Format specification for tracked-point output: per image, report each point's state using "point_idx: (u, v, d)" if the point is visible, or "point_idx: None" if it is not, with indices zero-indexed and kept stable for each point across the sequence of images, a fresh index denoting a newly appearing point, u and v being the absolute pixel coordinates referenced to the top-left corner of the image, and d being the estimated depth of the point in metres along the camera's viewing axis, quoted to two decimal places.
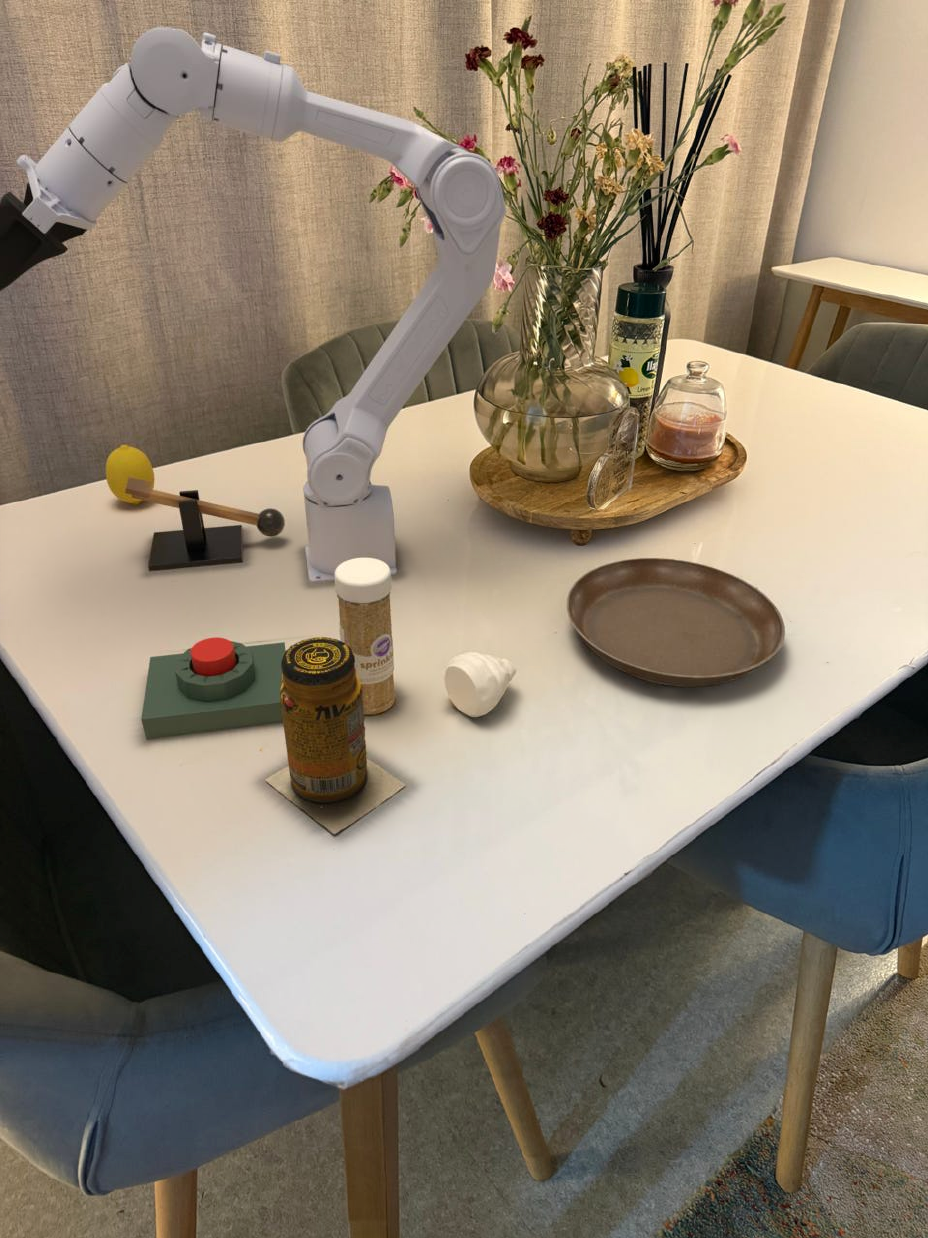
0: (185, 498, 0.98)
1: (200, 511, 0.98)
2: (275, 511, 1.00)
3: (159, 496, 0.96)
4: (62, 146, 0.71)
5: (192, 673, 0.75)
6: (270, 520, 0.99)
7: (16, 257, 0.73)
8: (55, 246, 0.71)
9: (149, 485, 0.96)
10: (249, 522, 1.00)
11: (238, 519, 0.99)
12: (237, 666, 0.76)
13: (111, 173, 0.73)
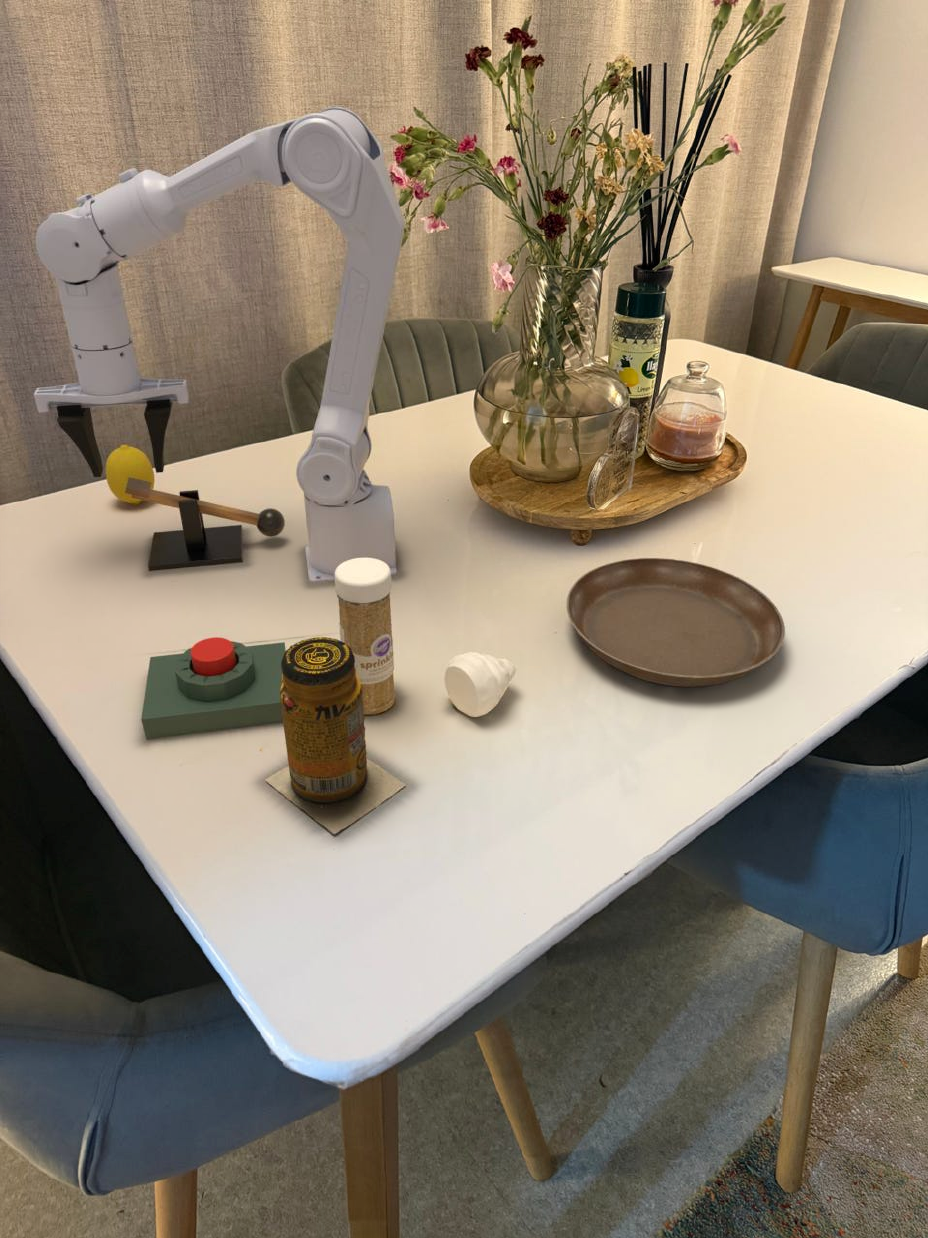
0: (185, 498, 0.98)
1: (200, 511, 0.98)
2: (275, 511, 1.00)
3: (159, 496, 0.96)
4: None
5: (192, 673, 0.75)
6: (270, 520, 0.99)
7: None
8: (57, 419, 0.88)
9: (149, 485, 0.96)
10: (249, 522, 1.00)
11: (238, 519, 0.99)
12: (237, 666, 0.76)
13: (75, 348, 0.85)
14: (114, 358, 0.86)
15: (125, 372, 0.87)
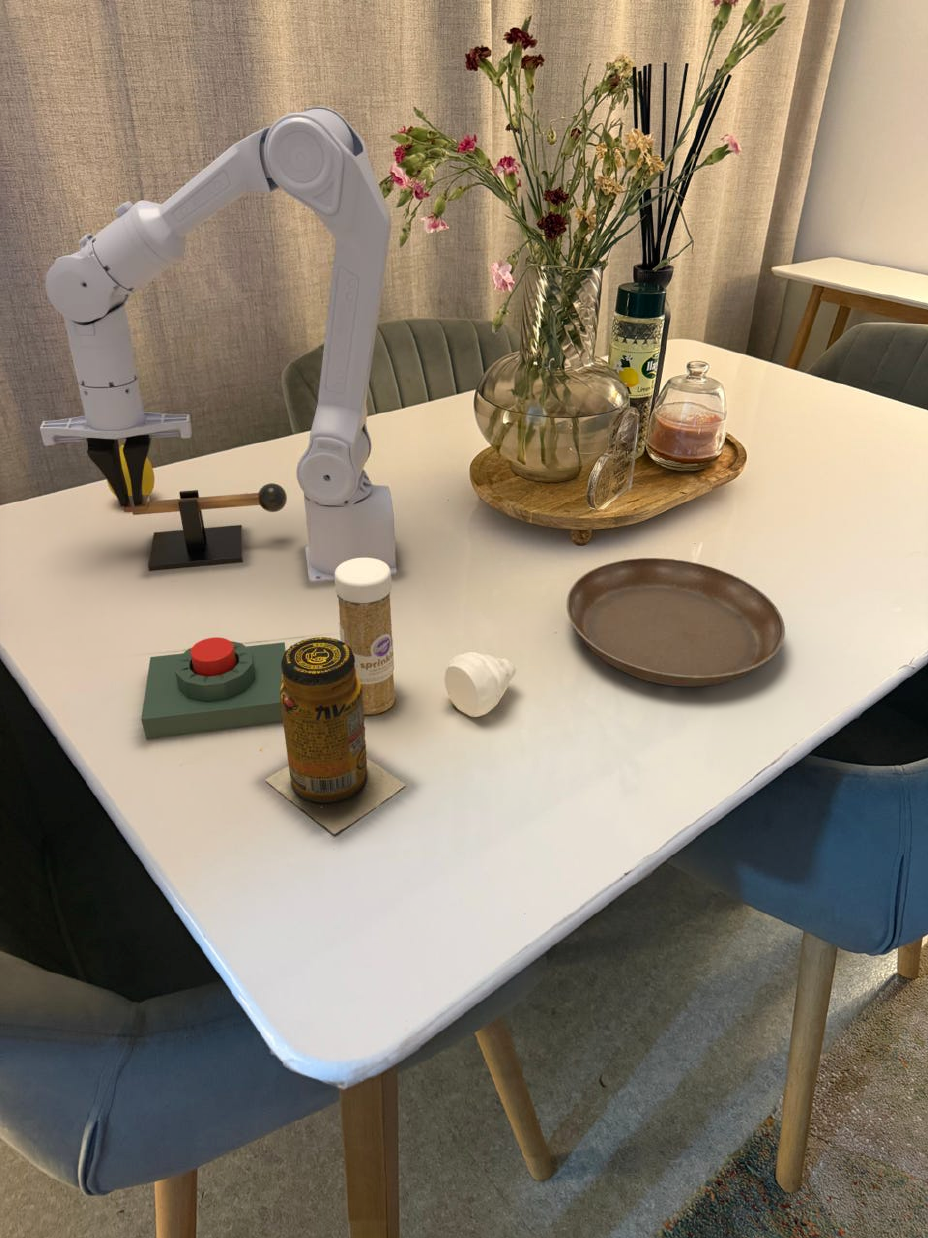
0: (183, 499, 0.98)
1: (201, 508, 0.98)
2: (272, 485, 0.99)
3: (158, 505, 0.97)
4: None
5: (192, 673, 0.75)
6: (269, 495, 0.98)
7: None
8: (87, 451, 0.90)
9: (146, 498, 0.97)
10: (251, 504, 0.99)
11: (240, 504, 0.98)
12: (237, 666, 0.76)
13: (81, 384, 0.87)
14: (120, 395, 0.88)
15: (130, 408, 0.89)
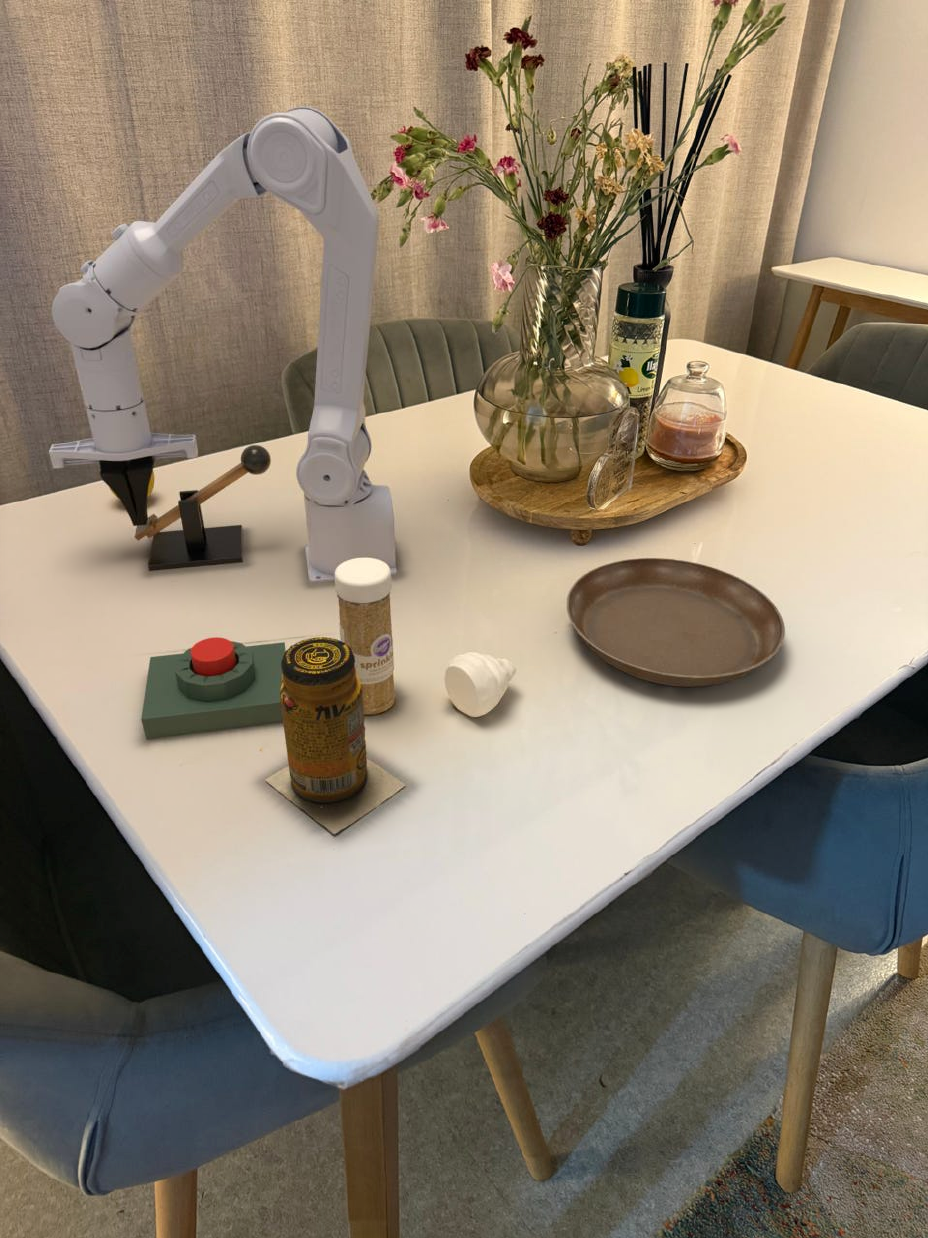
0: None
1: (200, 502, 0.97)
2: (248, 448, 0.96)
3: (163, 519, 0.98)
4: None
5: (192, 673, 0.75)
6: (248, 459, 0.95)
7: None
8: (100, 473, 0.92)
9: (152, 517, 0.98)
10: (240, 475, 0.97)
11: (230, 481, 0.97)
12: (237, 666, 0.76)
13: (89, 408, 0.89)
14: (126, 417, 0.89)
15: (137, 430, 0.90)
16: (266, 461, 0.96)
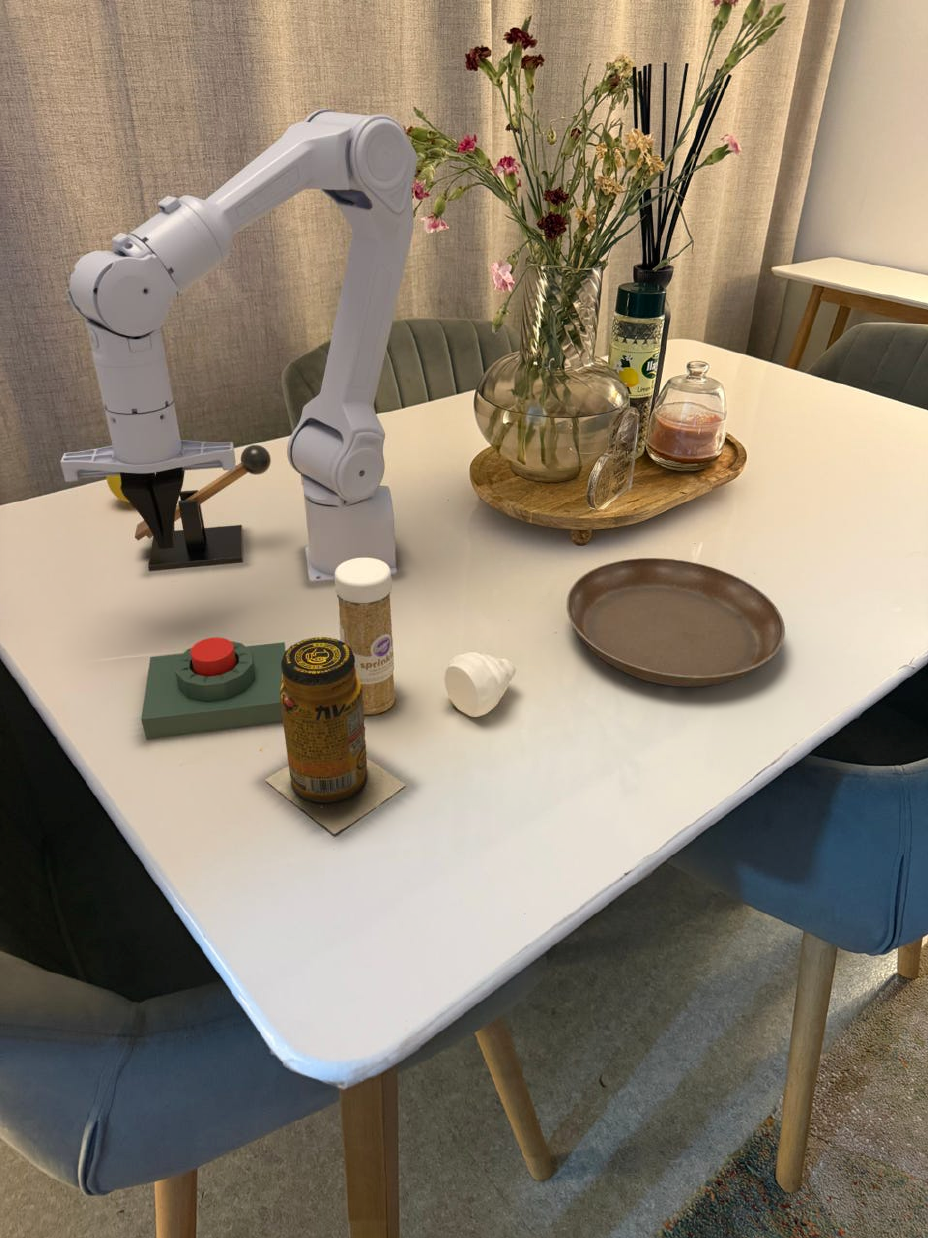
0: None
1: (200, 502, 0.97)
2: (248, 448, 0.96)
3: None
4: None
5: (192, 673, 0.75)
6: (248, 459, 0.95)
7: None
8: (121, 488, 0.77)
9: None
10: (240, 475, 0.97)
11: (230, 481, 0.97)
12: (237, 666, 0.76)
13: (108, 411, 0.74)
14: (153, 422, 0.74)
15: (165, 437, 0.76)
16: (266, 461, 0.96)
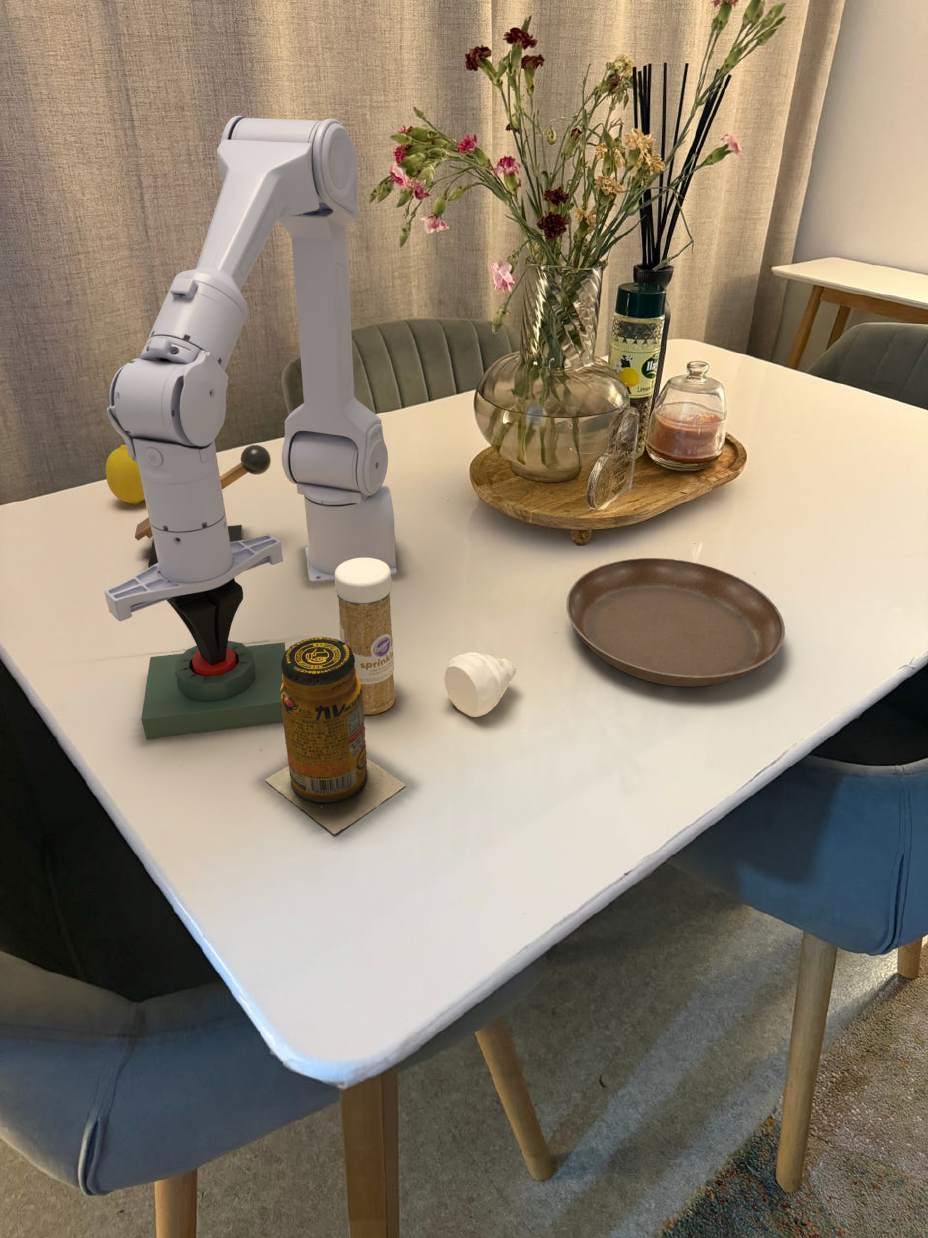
0: None
1: None
2: (248, 448, 0.96)
3: None
4: None
5: (192, 673, 0.75)
6: (248, 459, 0.95)
7: None
8: (184, 611, 0.70)
9: None
10: (240, 475, 0.97)
11: (230, 481, 0.97)
12: (237, 666, 0.76)
13: (169, 531, 0.67)
14: (220, 532, 0.69)
15: (227, 545, 0.70)
16: (266, 461, 0.96)
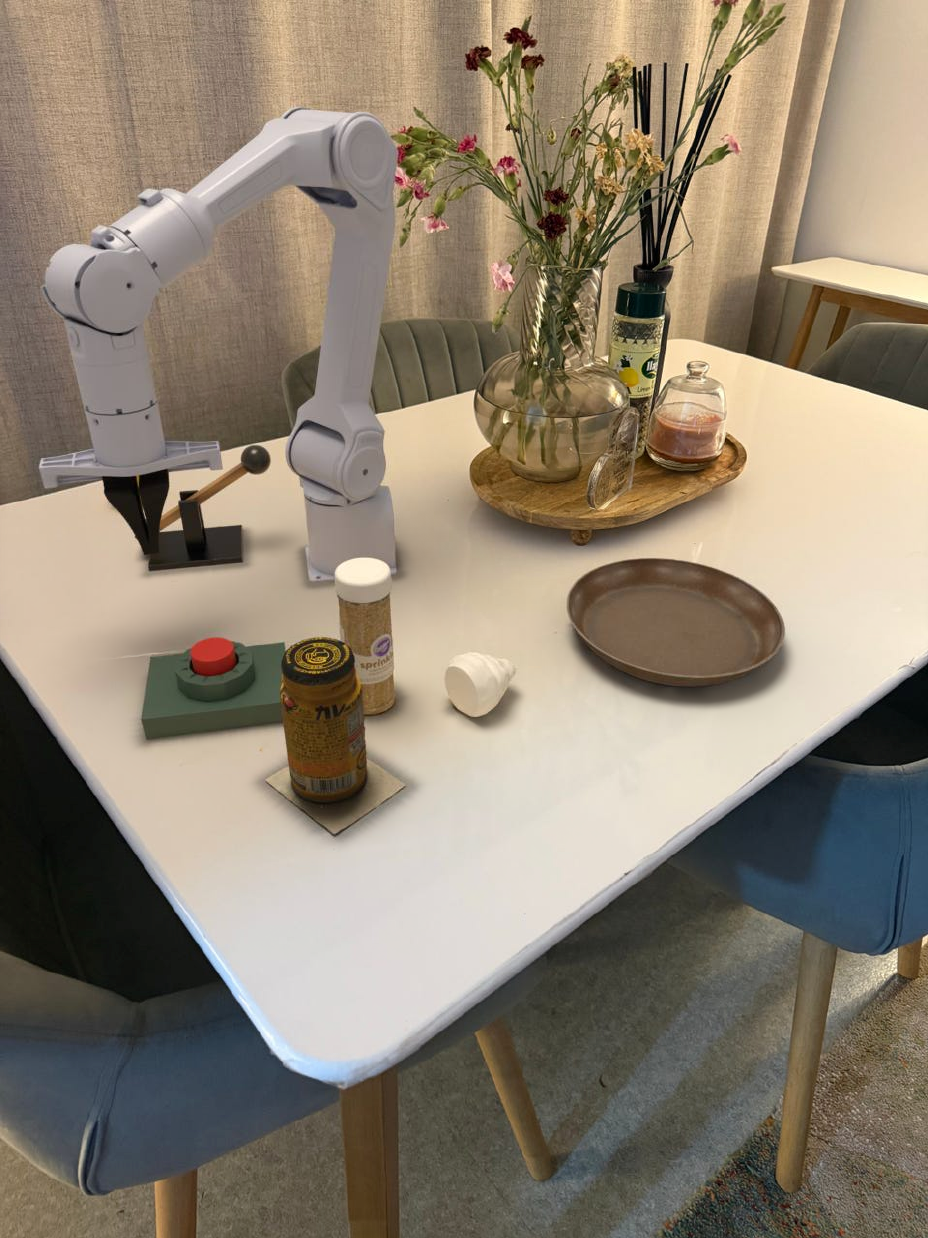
0: None
1: (200, 502, 0.97)
2: (248, 448, 0.96)
3: (163, 519, 0.98)
4: None
5: (192, 673, 0.75)
6: (248, 459, 0.95)
7: None
8: (105, 492, 0.74)
9: None
10: (240, 475, 0.97)
11: (230, 481, 0.97)
12: (237, 666, 0.76)
13: (90, 412, 0.71)
14: (138, 422, 0.71)
15: (151, 438, 0.73)
16: (266, 461, 0.96)
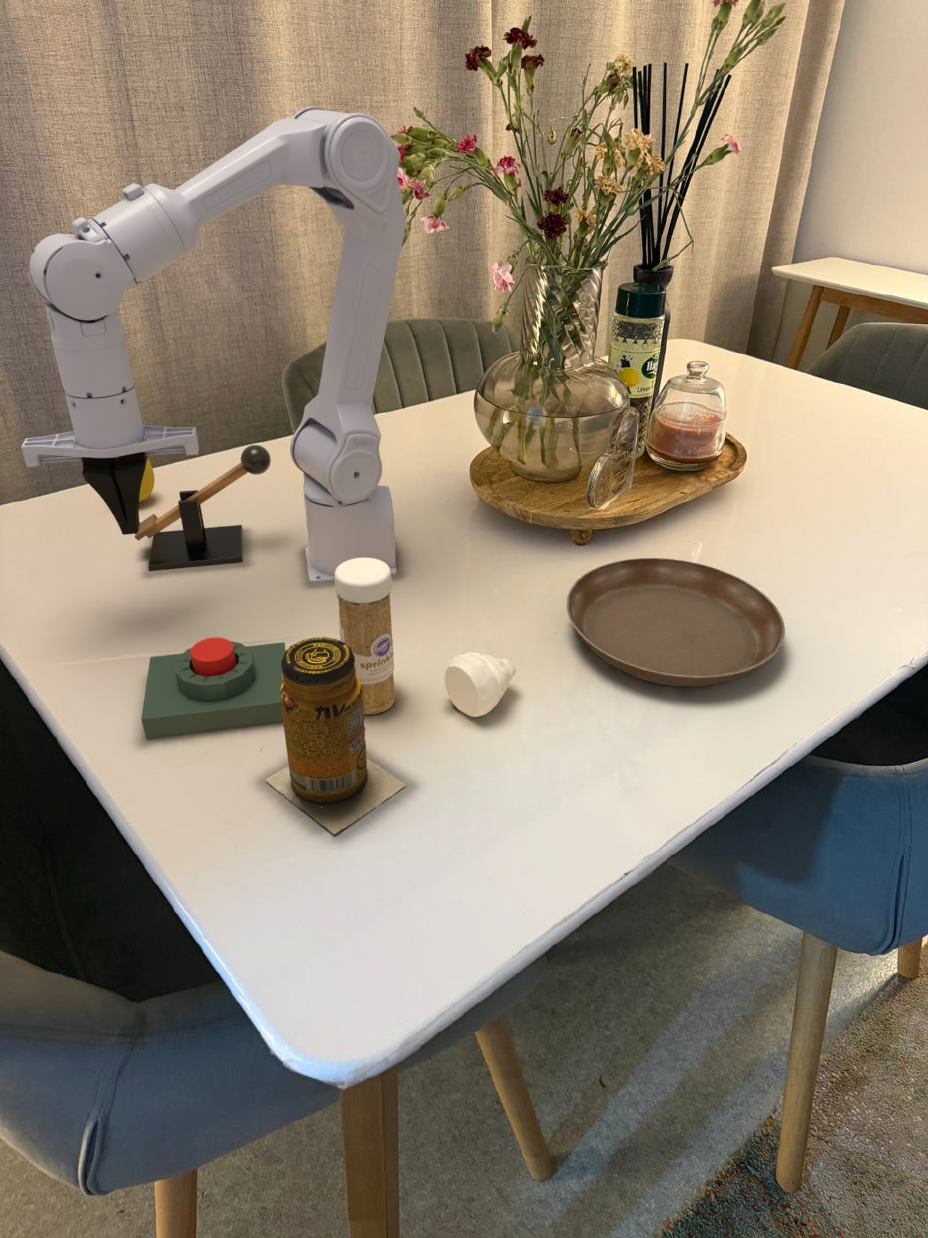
0: None
1: (200, 502, 0.97)
2: (248, 448, 0.96)
3: (163, 519, 0.98)
4: None
5: (192, 673, 0.75)
6: (248, 459, 0.95)
7: None
8: (83, 472, 0.77)
9: (152, 517, 0.98)
10: (240, 475, 0.97)
11: (230, 481, 0.97)
12: (237, 666, 0.76)
13: (68, 395, 0.74)
14: (113, 406, 0.74)
15: (126, 421, 0.76)
16: (266, 461, 0.96)
